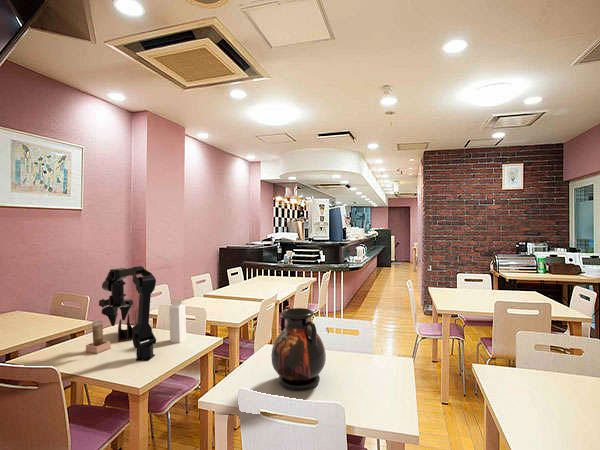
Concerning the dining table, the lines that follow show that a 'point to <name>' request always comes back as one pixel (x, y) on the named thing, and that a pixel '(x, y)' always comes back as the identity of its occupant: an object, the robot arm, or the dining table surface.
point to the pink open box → (98, 347)
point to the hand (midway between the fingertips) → (118, 323)
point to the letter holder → (127, 333)
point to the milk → (177, 321)
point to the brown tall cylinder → (97, 333)
